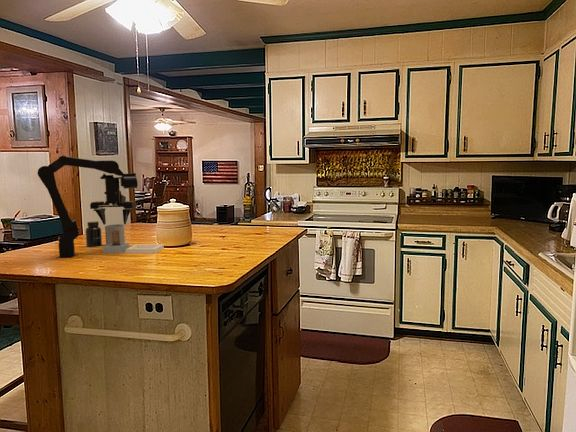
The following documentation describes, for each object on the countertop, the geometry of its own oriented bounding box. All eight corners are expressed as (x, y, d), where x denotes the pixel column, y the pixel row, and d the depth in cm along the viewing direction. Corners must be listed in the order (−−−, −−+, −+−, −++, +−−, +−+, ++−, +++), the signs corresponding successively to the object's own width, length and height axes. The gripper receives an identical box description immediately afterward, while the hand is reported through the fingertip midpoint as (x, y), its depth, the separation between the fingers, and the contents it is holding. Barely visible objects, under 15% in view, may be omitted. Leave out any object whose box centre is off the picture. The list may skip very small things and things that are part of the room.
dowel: (118, 251, 193) (117, 231, 192) (112, 251, 193) (110, 231, 192) (121, 250, 196) (120, 230, 195) (115, 250, 196) (113, 230, 195)
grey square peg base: (121, 254, 190) (121, 246, 190) (103, 254, 191) (103, 246, 190) (129, 250, 198) (128, 242, 198) (112, 250, 199) (111, 242, 198)
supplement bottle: (98, 248, 205) (96, 222, 203) (83, 248, 205) (82, 223, 203) (104, 245, 212) (103, 220, 210) (90, 245, 212) (89, 220, 210)
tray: (155, 254, 189) (154, 249, 188) (125, 254, 189) (125, 249, 189) (163, 249, 200) (163, 244, 199) (135, 249, 200) (135, 244, 200)
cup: (128, 244, 212) (127, 224, 211) (120, 248, 204) (118, 226, 203) (111, 244, 213) (110, 224, 212) (102, 247, 205) (101, 226, 204)
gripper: (140, 187, 199) (142, 221, 201) (100, 188, 200) (102, 222, 202) (130, 189, 188) (132, 225, 190) (88, 189, 189) (90, 225, 190)
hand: (114, 224), depth 193 cm, fingers open, 9 cm apart
